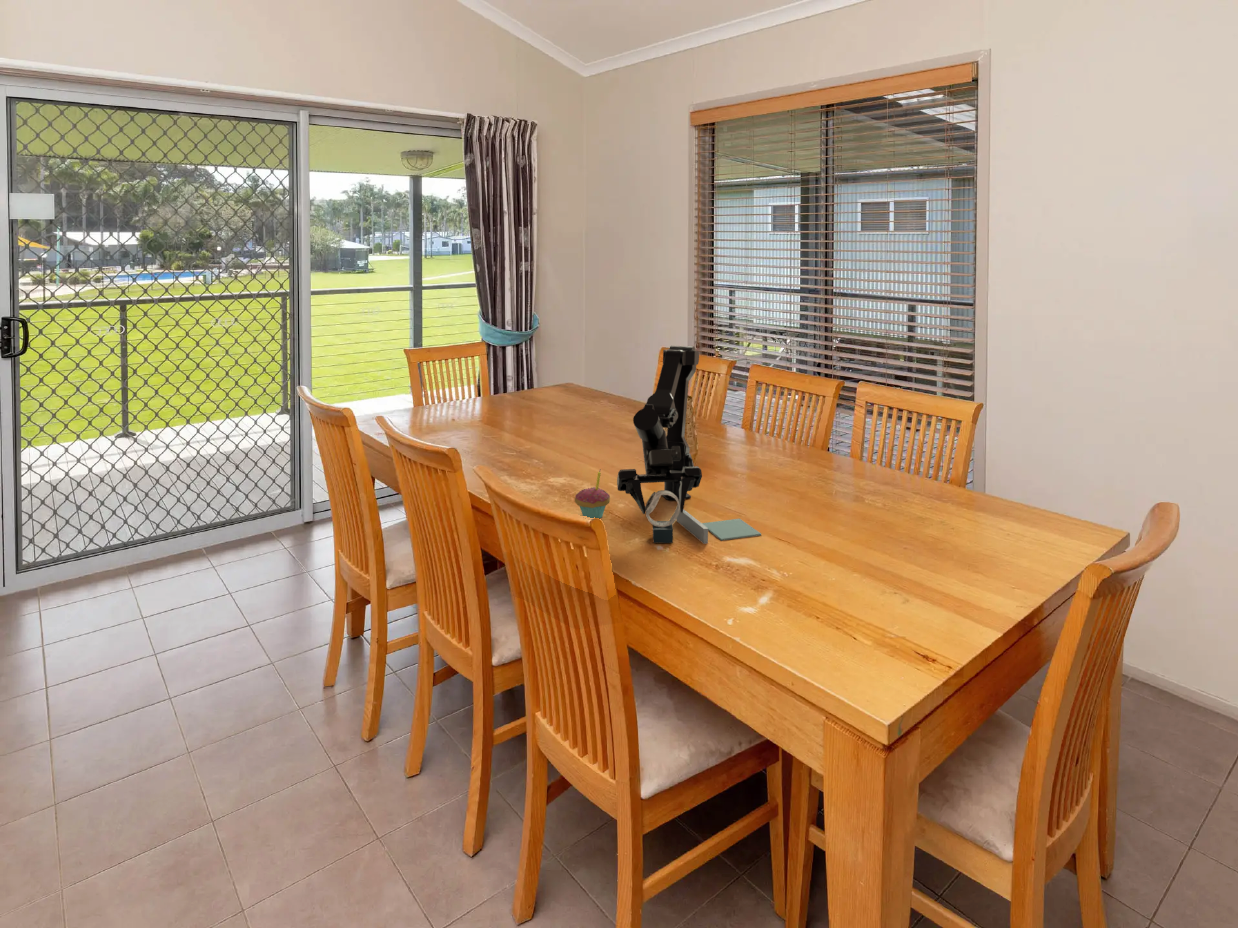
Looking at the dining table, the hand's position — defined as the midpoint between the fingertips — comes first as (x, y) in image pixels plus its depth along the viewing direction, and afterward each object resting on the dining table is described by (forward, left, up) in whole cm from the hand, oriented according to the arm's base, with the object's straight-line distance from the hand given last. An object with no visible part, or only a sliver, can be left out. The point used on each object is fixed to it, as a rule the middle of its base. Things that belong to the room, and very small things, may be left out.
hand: (663, 512), depth 183 cm
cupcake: (-22, -10, -7) cm, 25 cm away
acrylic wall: (-4, +9, -7) cm, 12 cm away
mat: (-2, +18, -7) cm, 19 cm away
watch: (-1, 0, -7) cm, 7 cm away
